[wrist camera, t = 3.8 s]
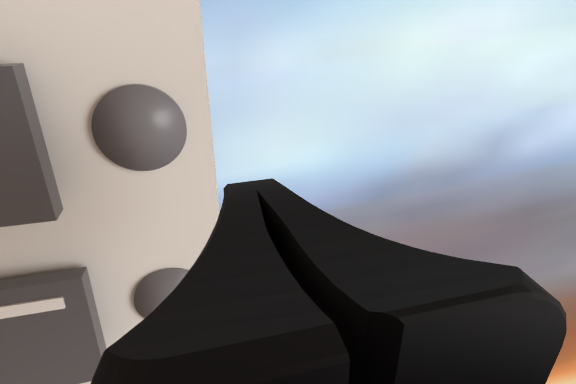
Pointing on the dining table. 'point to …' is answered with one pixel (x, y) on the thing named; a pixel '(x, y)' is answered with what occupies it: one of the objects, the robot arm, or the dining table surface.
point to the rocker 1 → (23, 155)
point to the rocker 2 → (49, 328)
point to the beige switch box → (116, 146)
